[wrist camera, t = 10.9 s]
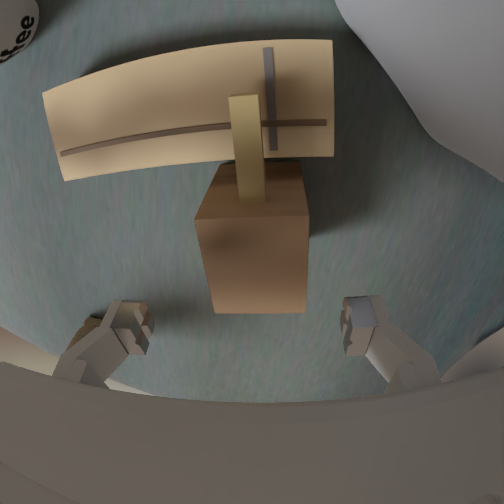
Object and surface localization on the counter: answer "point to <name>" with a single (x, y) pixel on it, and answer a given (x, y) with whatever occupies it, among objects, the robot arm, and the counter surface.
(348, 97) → the counter surface
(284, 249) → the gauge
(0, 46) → the cup
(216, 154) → the board
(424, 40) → the plastic bottle
